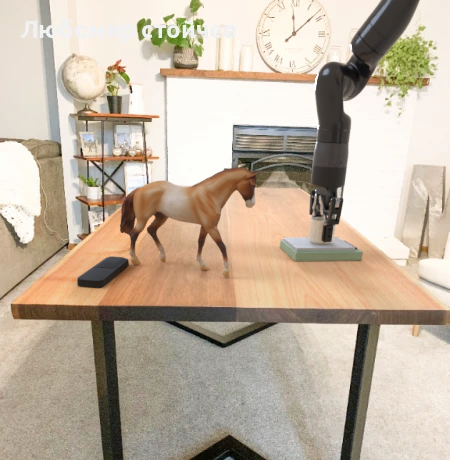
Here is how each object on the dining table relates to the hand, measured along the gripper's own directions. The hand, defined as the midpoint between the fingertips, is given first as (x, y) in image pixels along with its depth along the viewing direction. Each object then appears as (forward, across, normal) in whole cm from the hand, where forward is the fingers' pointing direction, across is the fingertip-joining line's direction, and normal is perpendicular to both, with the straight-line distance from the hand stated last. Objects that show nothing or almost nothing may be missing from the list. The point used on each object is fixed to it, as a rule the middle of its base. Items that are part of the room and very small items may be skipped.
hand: (320, 237), depth 104 cm
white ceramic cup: (+1, 0, 0) cm, 1 cm away
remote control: (+4, -13, +49) cm, 51 cm away
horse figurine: (+4, -7, +33) cm, 34 cm away
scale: (+4, 0, 0) cm, 4 cm away
